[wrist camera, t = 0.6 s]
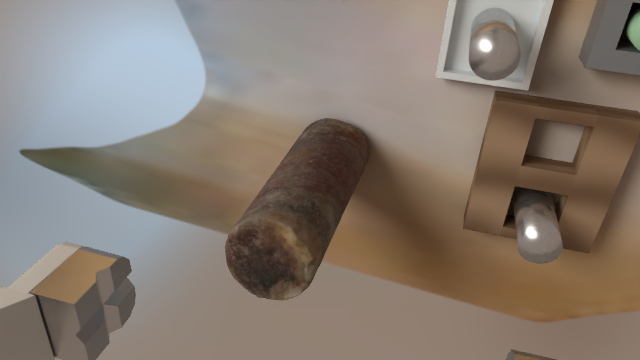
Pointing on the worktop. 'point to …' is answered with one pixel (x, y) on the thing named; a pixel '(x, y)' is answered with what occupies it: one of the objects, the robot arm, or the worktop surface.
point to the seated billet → (536, 226)
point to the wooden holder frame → (550, 166)
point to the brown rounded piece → (297, 211)
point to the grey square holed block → (610, 39)
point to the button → (633, 28)
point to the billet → (493, 45)
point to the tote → (464, 5)
